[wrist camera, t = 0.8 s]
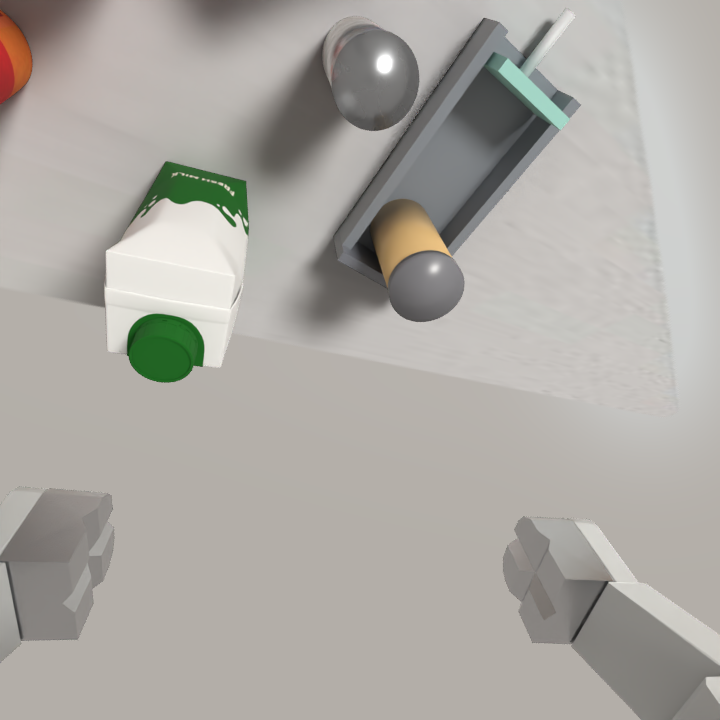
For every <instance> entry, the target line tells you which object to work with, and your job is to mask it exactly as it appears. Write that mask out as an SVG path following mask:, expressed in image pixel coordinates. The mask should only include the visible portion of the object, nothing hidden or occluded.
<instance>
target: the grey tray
mask: <svg viewBox="0 0 720 720" xmlns="http://www.w3.org/2000/svg"><path fill="white" fill-rule="evenodd" d="M507 33H508V30H507V29H506V28H505V27H504V26H503V25H502V24H501V23H500V22H497V21H494V20H490V19H487V18H484V19H483V20H482V22H481V23H480V25H479V26H478V28H477V29H476V30H475V32H474V33H473V35H472V36H471V38H470V39H469V41H468V42H467V44H466V45H465V46H464V48H463V49H462V51H461V52H460V54H459V55H458V57H457V58H456V60H455V61H454V62H453V64H452V65H451V67H450V68H449V70H448V71H447V73H446V74H445V76H444V77H443V78H442V80H441V81H440V83H439V84H438V86H437V87H436V89H435V90H434V91H433V93H432V94H431V96H430V97H429V99H428V100H427V102H426V103H425V105H424V106H423V107H422V109H421V110H420V112H419V113H418V115H417V116H416V118H415V119H414V121H413V122H412V123H411V125H410V126H409V128H408V129H407V131H406V132H405V134H404V135H403V137H402V138H401V139H400V141H399V142H398V144H397V145H396V147H395V148H394V150H393V151H392V153H391V154H390V155H389V157H388V158H387V160H386V161H385V163H384V164H383V166H382V167H381V168H380V170H379V171H378V173H377V174H376V176H375V177H374V179H373V180H372V182H371V183H370V184H369V186H368V187H367V189H366V190H365V192H364V193H363V195H362V196H361V198H360V199H359V200H358V202H357V203H356V205H355V206H354V208H353V209H352V211H351V212H350V214H349V215H348V216H347V218H346V219H345V221H344V222H343V224H342V225H341V227H340V228H339V229H338V231H337V232H336V234H335V235H334V243H335V248H336V254H337V259H338V261H340V262H341V263H343V264H345V265H347V266H348V267H350V268H352V269H354V270H355V271H357V272H359V273H361V274H363V275H364V276H366V277H368V278H370V279H371V280H373V281H375V282H377V283H378V284H380V285H382V286H384V287H385V288H387V285H386V282H385V279H384V276H383V273H382V269H381V266H380V263H379V260H378V257H377V254H376V251H375V248H374V244H373V241H372V238H371V233H370V226H371V222H372V220H373V218H374V217H375V216H376V214H377V213H378V211H379V210H380V209H381V207H382V206H383V205H385V204H386V203H388V202H390V201H393V200H396V199H409V200H413V201H415V202H417V203H419V204H420V205H421V206H422V207H423V208H424V209H425V211H426V213H427V214H428V216H429V218H430V220H431V221H432V223H433V225H434V227H435V228H436V230H437V232H438V234H439V235H440V237H441V239H442V241H443V242H444V244H445V246H446V248H447V249H448V251H449V253H450V255H451V256H453V254H454V253H455V252H456V251H457V250H458V249H459V247H460V246H461V245H462V244H463V243H464V242H465V240H466V239H467V238H468V237H469V236H470V235H471V233H472V232H473V231H474V230H475V229H476V227H477V226H478V225H479V224H480V223H481V222H482V220H483V219H484V218H485V217H486V216H487V215H488V213H489V212H490V211H491V210H492V209H493V208H494V206H495V205H496V204H497V203H498V202H499V201H500V199H501V198H502V197H503V196H504V195H505V194H506V192H507V191H508V190H509V189H510V188H511V187H512V185H513V184H514V183H515V182H516V181H517V179H518V178H519V177H520V176H521V175H522V174H523V172H524V171H525V170H526V169H527V168H528V167H529V165H530V164H531V163H532V162H533V161H534V160H535V158H536V157H537V156H538V155H539V154H540V153H541V151H542V150H543V149H544V148H545V147H546V146H547V144H548V143H549V142H550V141H551V140H552V139H553V137H554V136H555V135H556V134H557V133H558V132H559V129H558V128H556V127H554V126H553V125H551V124H549V123H548V122H546V121H544V120H543V119H541V118H540V117H538V116H536V115H535V114H534V113H533V112H532V111H531V110H530V109H529V108H527V107H526V106H525V105H524V104H523V103H522V102H521V101H520V100H519V99H518V98H517V97H516V96H515V95H514V94H513V93H511V92H510V91H509V90H508V89H507V88H506V87H505V86H504V85H503V84H502V83H501V82H500V81H499V80H498V79H497V78H495V77H494V76H493V75H492V74H491V73H490V72H489V71H488V70H487V69H486V68H485V67H484V65H485V63H486V62H487V60H488V59H489V58H490V56H491V55H492V53H493V52H495V53H497V54H500V55H502V56H504V57H507V58H508V59H509V60H510V61H511V62H512V63H513V64H514V65H515V66H516V67H517V68H518V69H520V68H521V66H522V65H523V64H524V62H525V61H526V60H527V59H526V58H525V57H524V56H523V55H522V54H521V53H520V52H519V51H518V50H517V49H516V48H515V47H514V46H513V45H512V44H511V43H510V42H509V41H508V40H507V39H506V38H505V35H506V34H507ZM528 78H529V79H530V80H531V81H532V82H533V83H534V84H535V85H536V86H537V87H538V88H539V89H540V90H541V91H542V92H543V93H544V94H545V95H546V96H547V97H548V98H549V99H550V100H551V101H552V102H553V103H554V104H555V105H556V106H557V107H558V108H559V109H560V110H561V111H562V112H563V113H564V114H565V115H566V116H567V117H568V118H569V119H570V117H571V116H572V115H573V114H574V113H575V112H576V110H577V109H578V108H579V107H580V106H581V105H580V104H579V103H578V102H577V101H576V100H575V99H574V98H573V97H571V96H569V95H567V94H565V93H563V92H560V91H558V90H557V89H556V88H555V87H554V86H553V85H552V84H551V83H550V82H549V81H548V80H547V79H546V78H545V77H544V76H543V75H542V74H541V73H540V72H539V71H538V70H537V69H536V68H535V69H534V71H533V72H532V73H531V75H530V76H529V77H528ZM387 289H388V288H387Z"/></svg>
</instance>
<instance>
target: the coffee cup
mask: <svg viewBox="0 0 720 720" xmlns="http://www.w3.org/2000/svg"><path fill="white" fill-rule="evenodd" d="M31 72H32V55H31V51H30V48H29V45H28V43H27V41H26V39H25V37H24V35H23V33H22V32H21V30H20V29H19V28H18V26H17V25H16V24H15V23H14V22H13V21H12V20H11V19H10V18H9V17H8V16H7V15H6V14H5V13H4V12H2V11H1V10H0V104H1V103H3V102H4V101H6V100H7V99H8V98H10V97H11V96H12V95H14V94H15V93H16V92H17V91H19V90H20V89H21V88H22V87H23V86H24V85H25V84H26V83H27V81H28V80H29V78H30V75H31Z"/></svg>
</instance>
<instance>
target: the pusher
mask: <svg viewBox="0 0 720 720" xmlns="http://www.w3.org/2000/svg"><path fill="white" fill-rule="evenodd" d="M574 18H575V15H574V13H573V12H572V11H571V10H569V9H568V8H565V10H564V11H563V12H562V14H561V15H560V16H559V18H558V19H557V20H556V22H555V23H554V24H553V26H552V27H551V28H550V30H549V31H548V32H547V33H546V35H545V36H544V37H543V39H542V40H541V41H540V43H539V44H538V45H537V47H536V48H535V49H534V51H533V52H532V53H531V54H530V56H529V57H528V58H527V60H526V61H525V62H524V64H523V65H522V66H521V68H520V69H518V68H517V67H516V66H515V65H514V64H513V63H512V62H511V61H510V60H509V59H508V58H507V57H504V56H502V55H500V54H497V53H495V52H493V53H492V55H491V56H490V58H489V59H488V60H487V62H486V63H485V65H484V67H485V68H486V69H487V70H488V71H489V72H490V73H491V74H492V75H493V76H494V77H495V78H497V79H498V80H499V81H500V82H501V83H502V84H503V85H504V86H505V87H506V88H507V89H508V90H509V91H510V92H511V93H513V94H514V95H515V96H516V97H517V98H518V99H519V100H520V101H521V102H522V103H523V104H524V105H525V106H526V107H527V108H529V109H530V110H531V111H532V112H533V113H534V114H535V115H536V116H538V117H540V118H541V119H543V120H544V121H546V122H548V123H549V124H551V125H553V126H554V127H556V128H558V129H559V130H561V129H562V128H563V127H564V126H565V124H566V123H567V122H568V121H569V120H570V119H569V118H568V117H567V116H566V115H565V114H564V113H563V112H562V111H561V110H560V109H559V108H558V107H557V106H556V105H555V104H554V103H553V102H552V101H551V100H550V99H549V98H548V97H547V96H546V95H545V94H544V93H543V92H542V91H541V90H540V89H539V88H538V87H537V86H536V85H535V84H534V83H533V82H532V81H531V80H530V79H529V78H528V77H529V76H530V75H531V73H532V72H533V71H534V69H535V68H536V67H537V66H538V64H539V63H540V62H541V60H542V59H543V58H544V57H545V55H546V54H547V53H548V51H549V50H550V49H551V47H552V46H553V45H554V44H555V42H556V41H557V40H558V38H559V37H560V36H561V35H562V33H563V32H564V31H565V29H566V28H567V27H568V26H569V24H570V23H571V22H572V20H573V19H574Z"/></svg>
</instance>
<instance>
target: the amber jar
mask: <svg viewBox="0 0 720 720" xmlns="http://www.w3.org/2000/svg"><path fill="white" fill-rule="evenodd" d="M370 233H371V238H372V241H373V244H374V248H375V251H376V254H377V257H378V260H379V263H380V266H381V269H382V273H383V276H384V279H385V282H386V285H387V288H388V295H389V298H390V302H391V304H392V307H393V308H394V310H395V311H396V312H397V313H398V314H399V315H400V316H402V317H403V318H405V319H407V320H411V321H415V322H426V321H432V320H435V319H438V318H440V317H442V316H444V315H445V314H447V313H448V312H450V311H451V310H452V309H453V308H454V307H455V306H456V305H457V303H458V302H459V300H460V299H461V296H462V294H463V291H464V277H463V274H462V272H461V270H460V268H459V266H458V264H457V263H456V261H455V260H454V259H453V258H452V256H451V255H450V253H449V251H448V249H447V248H446V246H445V244H444V242H443V241H442V239H441V237H440V235H439V234H438V232H437V230H436V228H435V227H434V225H433V223H432V221H431V220H430V218H429V216H428V214H427V213H426V211H425V209H424V208H423V207H422V206H421V205H420V204H419V203H417V202H415V201H413V200H409V199H396V200H393V201H390V202H388V203H386V204H385V205H383V206H382V207H381V209H380V210H379V211H378V213H377V214H376V216H375V217H374V218H373V220H372V222H371V226H370Z"/></svg>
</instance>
